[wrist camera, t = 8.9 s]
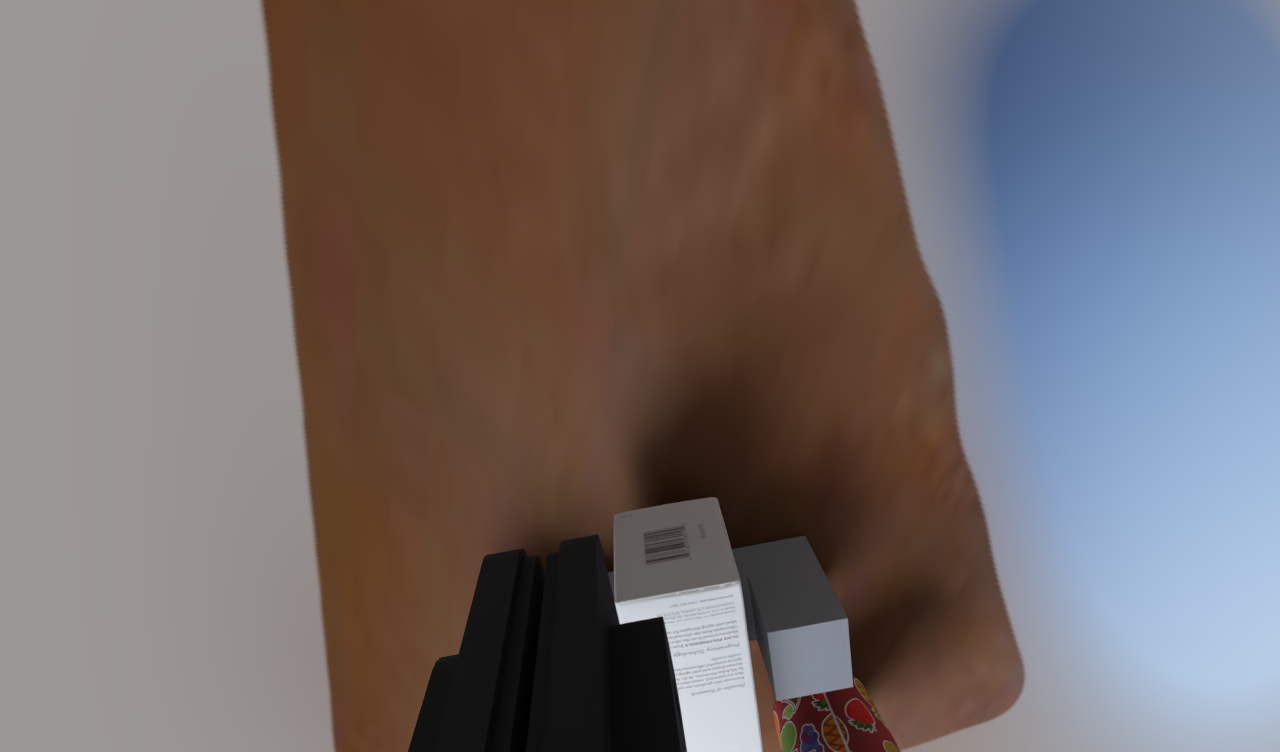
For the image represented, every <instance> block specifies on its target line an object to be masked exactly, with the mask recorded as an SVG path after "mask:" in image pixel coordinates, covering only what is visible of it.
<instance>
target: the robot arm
mask: <svg viewBox="0 0 1280 752" xmlns="http://www.w3.org/2000/svg"><path fill="white" fill-rule="evenodd" d="M408 752H687V748H686V741H685V734H684V727H683V721H682V714H681V708H680V702H679V696H678V690H677V684H676V678H675V673H674V668H673V662H672V657H671V652H670V647H669V642H668V637H667V632H666V628H665V623H664V619H663V616H662V617H656V618H651V619H646V620H640V621H635V622H629V623H624V624H620V623H619V619H618V615H617V610H616V606H615V602H614V598H613V593H612V589H611V585H610V580H609V576H608V572H607V567H606V563H605V559H604V554H603V550H602V546H601V542H600V539H599V536H598V535H592V536H587V537H581V538H576V539H571V540H565V541H562V542H561V544H560V552H555V553H550V554H548V558H547V567H546V576H545V573H544V570H543V566H542V563H541V560H540V558H539V556H534V557H527V554H526V552H525V550H524V549H517V550H512V551H506V552H501V553H495V554H490V555H486V556H485V557H484V559H483V562H482V566H481V570H480V574H479V578H478V582H477V586H476V589H475V593H474V597H473V601H472V605H471V609H470V613H469V616H468V620H467V624H466V628H465V632H464V636H463V640H462V644H461V647H460V651H459V654H457V655H452V656H447V657H441V658H440V659H439V660H438V661H437V662H436V663H435V666H434V668H433V670H432V673H431V676H430V680H429V683H428V686H427V690H426V693H425V696H424V700H423V703H422V707H421V710H420V713H419V717H418V720H417V723H416V727H415V730H414V733H413V737H412V740H411V743H410V747H409V750H408Z"/></svg>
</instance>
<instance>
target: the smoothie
mask: <svg viewBox="0 0 1280 752" xmlns="http://www.w3.org/2000/svg"><path fill="white" fill-rule="evenodd" d="M852 678H853V687H850V688H845V689H839V690H834V691H829V692H823V693H818V694H812V695H807V696H802V697H796V698H791V699H785V700H780V701H776V700H775V703H774V705H773V711H774V720H775V725H776V729H777V733H778V738H779V742H780V747H781V751H782V752H901V751H900V749H899V747H898V745H897V744H896V742H895V740H894V738H893V736H892V735H891V733H890V731H889V729H888V728H887V726H886V724H885V722H884V721H883V719H882V717H881V715H880V714H879V712H878V710H877V708H876V707H875V705H874V703H873V701H872V700H871V698H870V696H869V694H868V693H867V691H866V689H865V687H864V686H863V684H862V683H861V682H860V681H859V680H858V679H857V678H856V677H855V676H853V675H852Z"/></svg>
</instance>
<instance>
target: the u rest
mask: <svg viewBox="0 0 1280 752" xmlns="http://www.w3.org/2000/svg"><path fill="white" fill-rule="evenodd" d="M732 553H733V556H734V560H735V563H736V566H737V570H738V573H739V576H740V580H741V586H742V593H743V600H744V608H745V616H746V623H747V631H748V639H749V641H750V640H756V639H757V641H758V644H759V648H760V651H761V654H762V657H763V660H764V663H765V667H766V670H767V673H768V676H769V679H770V682H771V685H772V689H773V692H774V695H775V698H776V701H780V700H785V699H791V698H796V697H802V696H807V695H812V694H818V693H823V692H829V691H834V690H839V689H845V688H850V687H853V678H852V666H851V653H850V641H849V628H848V618H847V616H846V614H845V612H844V610H843V608H842V606H841V604H840V602H839V600H838V598H837V596H836V594H835V593H834V591H833V589H832V587H831V585H830V583H829V581H828V579H827V577H826V575H825V573H824V571H823V569H822V567H821V565H820V563H819V561H818V560H817V558H816V556H815V554H814V552H813V550H812V548H811V546H810V544H809V542H808V540H807V538H806V536H800V537H794V538H789V539H783V540H778V541H773V542H767V543H762V544H757V545H751V546H746V547H740V548H735V549H732ZM608 576H609V580H610V585H611V589H612V593H613V598H614V602H615V596H614V571H612V572H608ZM615 606H616V605H615ZM616 610H617V609H616ZM617 615H618V613H617ZM618 619H619V618H618ZM619 623H620V622H619Z"/></svg>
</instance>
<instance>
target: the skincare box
mask: <svg viewBox="0 0 1280 752" xmlns="http://www.w3.org/2000/svg"><path fill="white" fill-rule="evenodd" d="M614 596H615V605H616V609H617V613H618V618H619V622H620V624H624V623H629V622H635V621H640V620H646V619H651V618H656V617H662V616H663V619H664V623H665V628H666V632H667V637H668V642H669V647H670V652H671V657H672V662H673V668H674V673H675V678H676V684H677V690H678V696H679V702H680V708H681V714H682V721H683V727H684V734H685V741H686V748H687V752H763V746H762V738H761V730H760V722H759V714H758V706H757V699H756V691H755V684H754V676H753V669H752V661H751V654H750V646H749V639H748V631H747V623H746V616H745V608H744V600H743V593H742V586H741V580H740V576H739V573H738V570H737V566H736V563H735V560H734V556H733V553H732V549H731V545H730V542H729V538H728V534H727V530H726V527H725V523H724V519H723V516H722V513H721V510H720V506H719V502H718V499H717V498H715V497H709V498H702V499H695V500H689V501H683V502H677V503H671V504H665V505H660V506H654V507H648V508H643V509H637V510H632V511H627V512H623V513H619V514H616V515H615V516H614Z"/></svg>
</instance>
